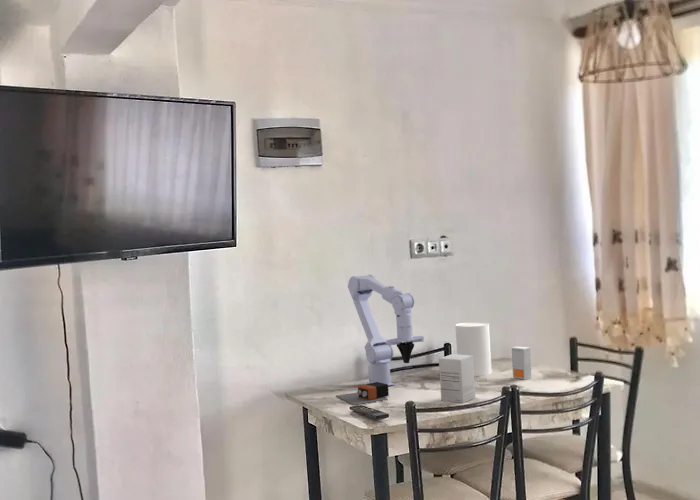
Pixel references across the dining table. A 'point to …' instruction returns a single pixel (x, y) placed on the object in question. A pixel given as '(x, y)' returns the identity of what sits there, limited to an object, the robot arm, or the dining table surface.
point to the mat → (357, 399)
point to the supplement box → (457, 378)
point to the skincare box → (521, 362)
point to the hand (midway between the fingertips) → (406, 362)
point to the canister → (475, 345)
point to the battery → (373, 391)
